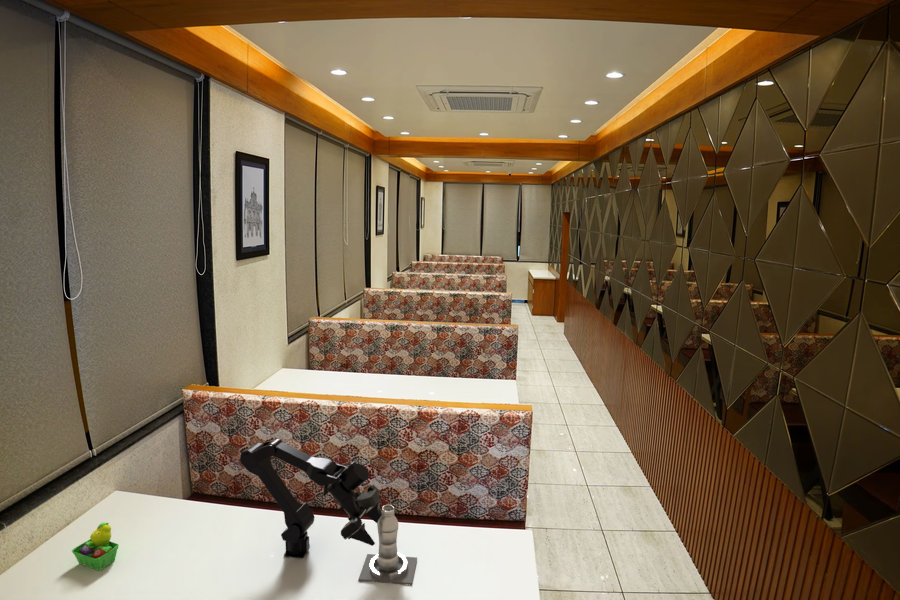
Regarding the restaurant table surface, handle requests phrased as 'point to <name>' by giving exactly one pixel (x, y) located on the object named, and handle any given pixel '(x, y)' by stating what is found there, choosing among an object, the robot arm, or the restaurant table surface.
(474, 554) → the restaurant table surface
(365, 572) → the ring mat
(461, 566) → the restaurant table surface
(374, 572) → the split ring
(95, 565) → the fruit basket
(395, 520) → the plastic bottle
